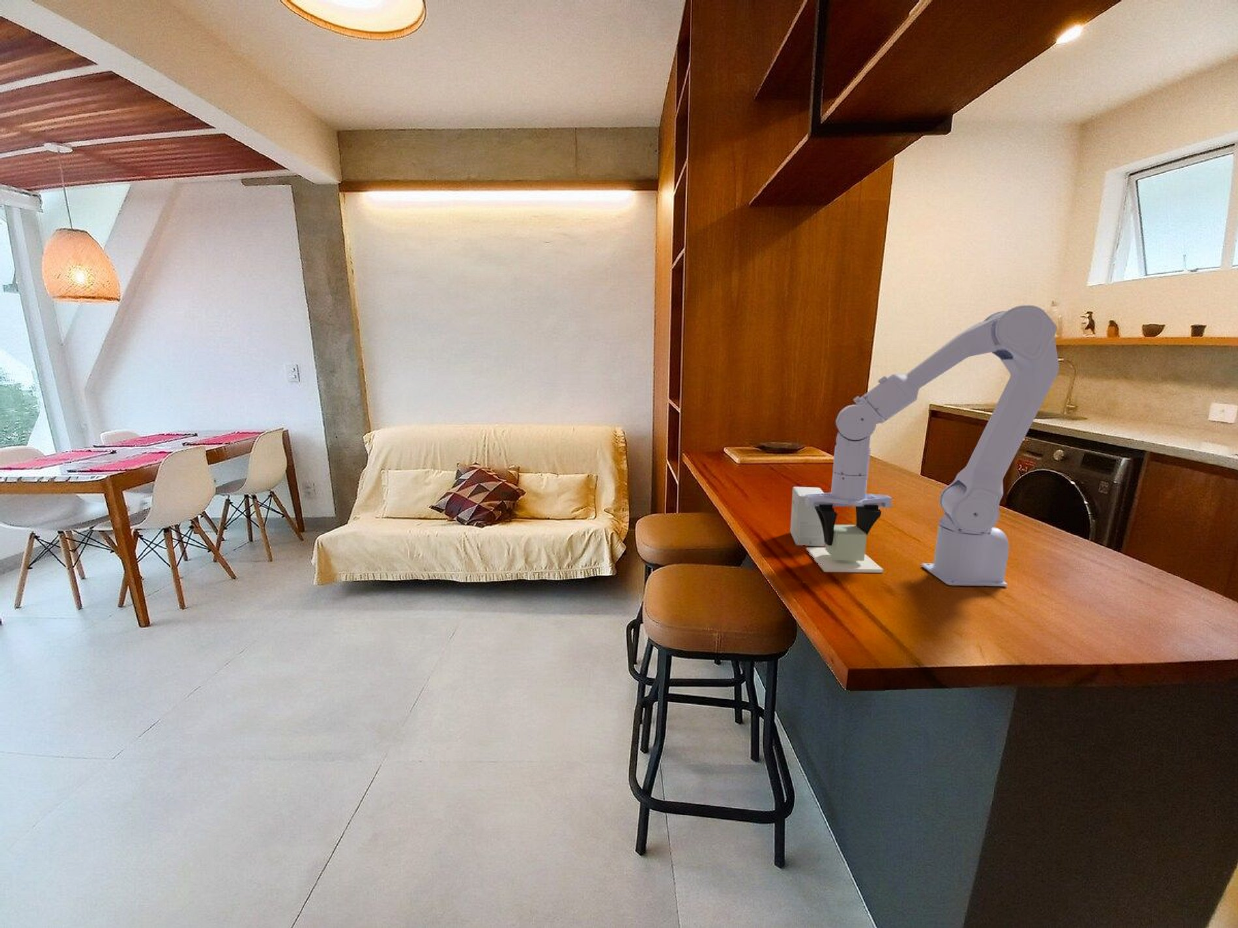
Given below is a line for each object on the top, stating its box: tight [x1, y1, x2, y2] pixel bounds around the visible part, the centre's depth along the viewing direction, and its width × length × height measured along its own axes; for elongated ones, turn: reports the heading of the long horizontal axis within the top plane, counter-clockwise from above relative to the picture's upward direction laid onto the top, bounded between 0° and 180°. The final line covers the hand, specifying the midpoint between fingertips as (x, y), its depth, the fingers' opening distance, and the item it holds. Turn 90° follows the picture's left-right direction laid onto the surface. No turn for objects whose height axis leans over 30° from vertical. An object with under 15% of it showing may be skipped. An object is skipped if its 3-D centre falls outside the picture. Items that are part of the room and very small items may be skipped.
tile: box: [805, 546, 884, 574], centre depth 88 cm, size 10×10×1 cm
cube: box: [824, 524, 868, 561], centre depth 87 cm, size 5×5×5 cm
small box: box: [789, 486, 826, 547], centre depth 98 cm, size 8×6×10 cm
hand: (843, 543), depth 87 cm, fingers closed on cube, 5 cm apart
